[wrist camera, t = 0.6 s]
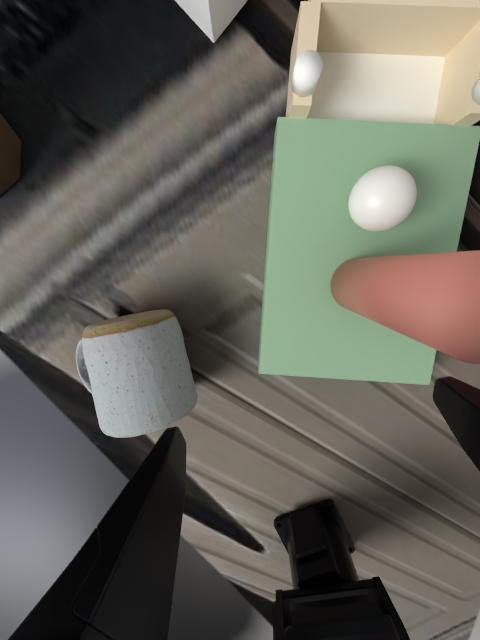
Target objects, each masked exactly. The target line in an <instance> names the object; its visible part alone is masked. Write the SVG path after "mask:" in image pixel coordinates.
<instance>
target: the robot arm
mask: <svg viewBox="0 0 480 640" xmlns="http://www.w3.org/2000/svg"><path fill="white" fill-rule="evenodd" d="M433 400H434V402H435V404H436V406H437V407H438V409H439V411H440V412H441V414H442V416H443V417H444V419H445V421H446V422H447V424H448V426H449V427H450V429H451V431H452V432H453V434H454V436H455V437H456V439H457V441H458V442H459V444H460V445H461V447H462V448H463V449H464V451H465V452H466V454H467V455H468V456H469V458H470V459H471V460H472V462H473V463H474V464H475V466H476V467H477V468H478V470H479V471H480V389H477V388H475V387H473V386H471V385H469V384H466V383H464V382H462V381H460V380H458V379H455V378H453V377H450V376H447V377H441V378H437V379H436V380H435V385H434V391H433ZM185 486H186V442H185V439H184V437H183V435H182V433H181V431H180V429H179V428H178V427H171V428H167V429H166V430H165V431H164V432H163V434H162V435H161V437H160V438H159V439H158V441H157V442H156V444H155V445H154V447H153V448H152V449H151V451H150V452H149V454H148V455H147V456H146V458H145V459H144V461H143V462H142V463H141V465H140V466H139V468H138V469H137V470H136V472H135V473H134V475H133V476H132V477H131V479H130V480H129V482H128V483H127V484H126V486H125V487H124V489H123V490H122V491H121V493H120V494H119V496H118V497H117V499H116V500H115V501H114V503H113V504H112V506H111V507H110V508H109V510H108V511H107V513H106V514H105V515H104V517H103V519H102V520H101V521H100V522H99V524H98V525H97V528H95V529H94V531H93V532H92V533H91V535H90V536H89V538H88V539H87V541H86V542H85V543H84V545H83V546H82V547H81V549H80V550H79V552H78V553H77V554H76V556H75V557H74V559H73V560H72V561H71V562H70V563H69V565H68V566H67V567H66V568H65V570H64V571H63V572H62V574H61V575H60V576H59V577H58V579H57V580H56V581H55V582H54V584H53V585H52V586H51V587H50V589H49V590H48V591H47V592H46V594H45V595H44V596H43V597H42V598H41V600H40V601H39V602H38V603H37V605H36V606H35V607H34V608H33V610H32V611H31V612H30V613H29V614H28V616H27V617H26V618H25V619H24V621H23V622H22V623H21V624H20V626H19V627H18V628H17V629H16V631H15V632H14V633H13V634H12V635H11V636H10V638H9V639H8V640H167V638H168V630H169V621H170V613H171V605H172V597H173V588H174V581H175V572H176V563H177V556H178V548H179V539H180V532H181V524H182V515H183V507H184V499H185ZM330 505H331V506H330ZM278 523H280V524H278ZM274 527H275V529H276V531H277V533H278V535H279V537H280V538H281V540H282V542H283V544H284V546H285V548H286V550H287V552H288V554H289V560H290V567H291V574H292V582H293V589H292V590H284V591H282V589H281V590H276V601H274V607H273V608H272V618H273V640H410V639H409V636H408V634H407V632H406V629H405V627H404V625H403V623H402V621H401V619H400V617H399V615H398V613H397V611H396V609H395V607H394V605H393V603H392V601H391V599H390V597H389V595H388V593H387V591H386V589H385V587H384V585H383V583H382V581H381V579H380V578H379V576H378V577H372V579H367V580H359V578H358V575H357V572H356V569H355V567H354V564H353V561H352V558H351V555H350V554H351V553H353V552H354V551H355V548H354V545H353V543H352V541H351V538H350V536H349V534H348V532H347V530H346V528H345V525H344V523H343V521H342V519H341V517H340V515H339V512H338V510H337V508H336V506H335V504H334V502H333V501H332V500H327V501H324V502H321V503H318V504H315V505H313V506H310V507H307V508H304V509H301V510H298V511H296V512H293V513H290V514H287V515H284V516H281V517H279V518H276V519H275V520H274Z"/></svg>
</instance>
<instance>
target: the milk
mask: <svg viewBox="0 0 480 640" xmlns="http://www.w3.org/2000/svg"><path fill="white" fill-rule="evenodd" d="M175 1H176V2H177V3H178V4H179V6H180V7H181V8H182V9H183V10H184V11H185V12H186V13H187V14H188V15H189V16H190V18H191V19H192V20H193V21H194V22H195V23H196V24H197V25H198V26H199V27H200V28H201V30H202V31H203V32H204V33H205V34H206V35H207V36H208V37H209V38H210V39H211V41H212V42H213V43H215V41H216V40H217V39H218V38H219V36H220V35H221V34H222V32H223V31H224V30H225V29H226V27H227V26H228V25H229V23H230V22H231V21H232V20H233V18H234V17H235V16H236V15H237V13H238V12H239V11H240V9H241V8H242V7H243V6H244V4H245V3H246V2H247V1H248V0H175Z"/></svg>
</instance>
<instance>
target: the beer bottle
mask: <svg viewBox="0 0 480 640" xmlns="http://www.w3.org/2000/svg"><path fill="white" fill-rule="evenodd" d="M20 175H21V141H20V139H19V138H18V136H17V135H16V134H15V132H14V131H13V130H12V128H11V127H10V126H9V124H8V123H7V122H6V120H5V119H4V118H3V116H2V115H1V113H0V195H1V194H3V193H4V192H5V191H6V190H7V189H8V188H10V187H11V186H12V185H13V184H14V183H15V182H17V181H18V180H19V179H20Z"/></svg>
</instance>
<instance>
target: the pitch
mask: <svg viewBox="0 0 480 640" xmlns="http://www.w3.org/2000/svg"><path fill="white" fill-rule="evenodd" d="M479 141H480V126H452V125H443V124H421V123H400V122H378V121H356V120H335V119H313V118H306V119H300V118H289V117H278V119H277V125H276V130H275V138H274V152H273V165H272V179H271V193H270V206H269V220H268V234H267V247H266V261H265V275H264V288H263V302H262V316H261V329H260V343H259V357H258V369H259V374H273V375H288V376H303V377H318V378H333V379H348V380H363V381H379V382H394V383H409V384H424V385H429V384H430V379H431V374H432V369H433V364H434V360H435V355H436V349H434V348H431V347H429V346H427V345H425V344H423V343H420V342H418V341H416V340H414V339H412V338H409V337H407V336H405V335H403V334H401V333H399V332H396V331H394V330H392V329H390V328H388V327H385V326H383V325H381V324H379V323H377V322H374V321H372V320H370V319H368V318H366V317H363V316H361V315H359V314H357V313H355V312H352V311H350V310H348V309H346V308H344V307H342V306H340V305H339V304H338V303H337V302H336V301H335V299H334V298H333V296H332V293H331V286H330V285H331V279H332V276H333V274H334V272H335V270H336V269H337V268H338V267H339V266H340V265H341V264H342V263H344V262H345V261H347V260H350V259H353V258H364V257H380V256H396V255H412V254H429V253H445V252H457V248H458V243H459V238H460V233H461V228H462V223H463V219H464V214H465V209H466V204H467V199H468V194H469V189H470V185H471V180H472V175H473V170H474V165H475V160H476V155H477V150H478V146H479ZM385 165H393V166H398V167H400V168H402V169H404V170H406V171H407V172H408V173H409V174H410V175H411V176H412V177H413V179H414V181H415V184H416V188H417V197H416V201H415V205H414V207H413V209H412V211H411V212H410V214H409V215H408V217H407V218H406V219H405V220H404V221H403V222H401V223H400V224H399V225H397V226H396V227H394V228H391V229H389V230H386V231H380V232H372V231H367V230H364V229H362V228H361V227H359V226H358V225H357V224H356V223H355V222H354V221H353V219H352V218H351V216H350V213H349V208H348V202H349V196H350V193H351V190H352V188H353V186H354V185H355V183H356V182H357V181H358V180H359V178H361V177H362V176H363V175H364V174H365V173H367V172H368V171H370V170H372V169H374V168H376V167H380V166H385Z"/></svg>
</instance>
